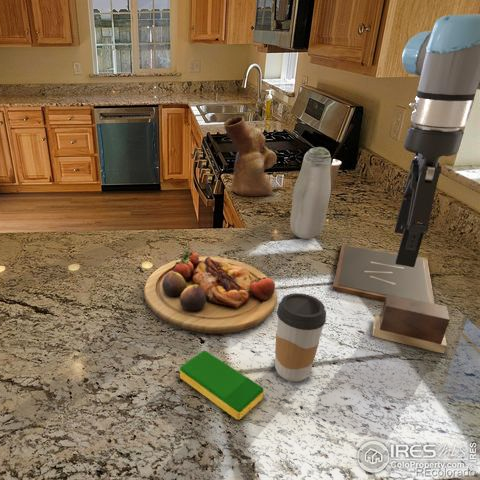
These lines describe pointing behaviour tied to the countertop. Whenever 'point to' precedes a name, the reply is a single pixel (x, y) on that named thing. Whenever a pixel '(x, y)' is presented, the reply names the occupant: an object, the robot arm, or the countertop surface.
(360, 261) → the chalkboard
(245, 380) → the dish sponge
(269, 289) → the wooden plate
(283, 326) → the coffee cup
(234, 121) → the ceramic vessel
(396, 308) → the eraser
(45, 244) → the countertop surface
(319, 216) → the glass bottle
